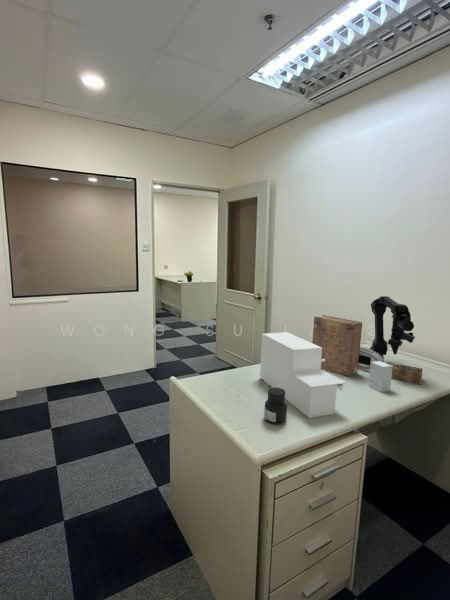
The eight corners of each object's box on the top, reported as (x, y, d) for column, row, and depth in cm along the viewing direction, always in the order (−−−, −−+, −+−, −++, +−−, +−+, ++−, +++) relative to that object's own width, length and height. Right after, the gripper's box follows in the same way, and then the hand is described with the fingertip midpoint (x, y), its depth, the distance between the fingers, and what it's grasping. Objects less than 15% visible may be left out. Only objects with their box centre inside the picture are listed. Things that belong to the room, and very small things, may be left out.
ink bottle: (260, 414, 132) (261, 386, 131) (280, 412, 134) (282, 385, 133) (269, 426, 123) (270, 397, 121) (290, 424, 125) (292, 395, 123)
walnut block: (382, 376, 179) (384, 366, 178) (385, 371, 187) (386, 361, 186) (420, 384, 169) (421, 373, 168) (421, 379, 177) (422, 368, 176)
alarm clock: (340, 364, 198) (341, 344, 196) (345, 362, 202) (346, 342, 200) (378, 375, 181) (380, 353, 179) (383, 372, 185) (385, 351, 183)
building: (345, 412, 136) (350, 356, 132) (308, 419, 129) (313, 360, 126) (288, 375, 178) (291, 331, 174) (258, 378, 171) (260, 333, 167)
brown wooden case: (310, 364, 196) (313, 316, 191) (319, 361, 202) (322, 314, 197) (349, 377, 176) (353, 324, 172) (357, 373, 182) (362, 322, 178)
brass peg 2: (407, 379, 174) (409, 369, 174) (408, 377, 178) (409, 367, 177) (416, 381, 172) (417, 370, 171) (417, 379, 175) (418, 368, 175)
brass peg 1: (387, 375, 180) (388, 365, 179) (388, 373, 183) (389, 363, 182) (395, 377, 178) (396, 366, 177) (396, 375, 181) (397, 364, 180)
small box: (390, 390, 160) (393, 365, 158) (380, 392, 158) (383, 367, 156) (377, 384, 167) (380, 360, 166) (368, 385, 165) (370, 361, 163)
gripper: (413, 332, 165) (409, 361, 167) (416, 326, 180) (413, 353, 182) (389, 329, 171) (386, 357, 173) (394, 323, 186) (391, 349, 189)
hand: (395, 354), depth 179 cm, fingers closed
